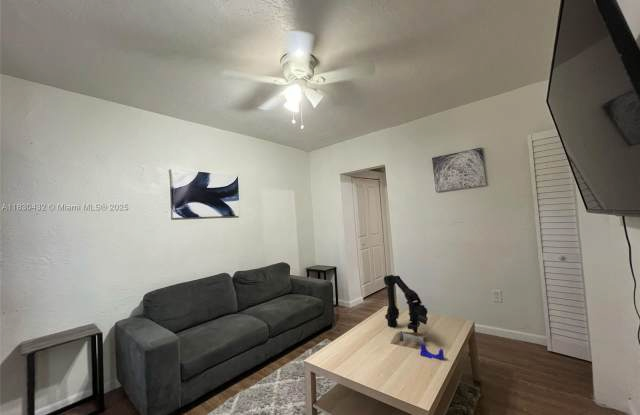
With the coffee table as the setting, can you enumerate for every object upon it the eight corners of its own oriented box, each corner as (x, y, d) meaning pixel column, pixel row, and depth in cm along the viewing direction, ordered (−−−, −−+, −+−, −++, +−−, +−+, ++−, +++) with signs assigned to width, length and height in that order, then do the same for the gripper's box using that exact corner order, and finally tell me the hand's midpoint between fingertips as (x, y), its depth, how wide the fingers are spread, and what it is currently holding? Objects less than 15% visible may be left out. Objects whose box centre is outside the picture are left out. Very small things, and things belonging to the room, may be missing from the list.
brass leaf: (403, 339, 174) (402, 332, 174) (403, 338, 175) (402, 331, 175) (423, 340, 170) (423, 333, 171) (423, 340, 171) (422, 332, 172)
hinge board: (390, 344, 171) (389, 343, 171) (397, 333, 186) (397, 332, 186) (424, 351, 159) (424, 350, 159) (429, 338, 175) (429, 337, 175)
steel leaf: (399, 340, 173) (399, 331, 174) (400, 339, 175) (399, 330, 175) (423, 345, 165) (422, 336, 166) (423, 344, 167) (423, 334, 167)
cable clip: (420, 357, 154) (419, 347, 155) (423, 353, 158) (422, 343, 158) (441, 363, 147) (440, 352, 147) (444, 359, 150) (443, 349, 150)
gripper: (424, 318, 162) (426, 342, 162) (427, 307, 178) (430, 329, 178) (406, 316, 168) (408, 340, 167) (411, 305, 184) (414, 327, 184)
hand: (416, 334), depth 174 cm, fingers closed
